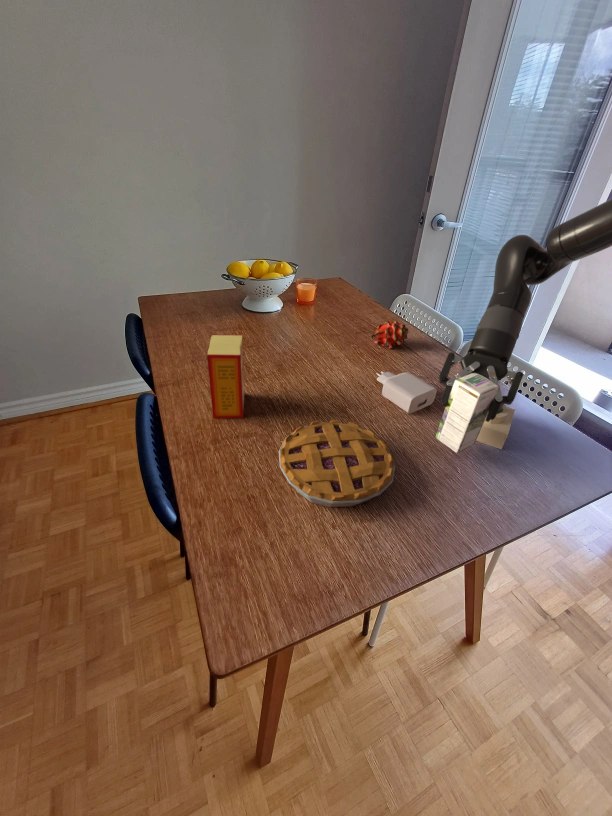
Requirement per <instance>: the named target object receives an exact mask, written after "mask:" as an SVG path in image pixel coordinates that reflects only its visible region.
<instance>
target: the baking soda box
mask: <svg viewBox="0 0 612 816" xmlns="http://www.w3.org/2000/svg"><path fill="white" fill-rule="evenodd" d="M243 342H244V341H243V334H211V337H210V341H209V345H208V350H207V354H206V359H207V369H208V378H209V379H208V381H209V388H210V399H211V408H212V409H211V410H212V418H213V419H243V418H244V407H245V371H244V370H245V369H244V368H245V367H244V344H243Z"/></svg>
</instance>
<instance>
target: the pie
mask: <svg viewBox="0 0 612 816" xmlns="http://www.w3.org/2000/svg"><path fill="white" fill-rule="evenodd" d="M278 458H279V460H278V461H279V468H280V470H281V472H282V473H283V475H284V477H285V478H286V480H287V482H288V484H289V485H290V486H292V487H293V488H294V489H295V491H296V492H297V493H298V494H300V495H301V496H302V497H303V498H305V499H306V500H307V501H309V502H310V503H311V504H315V505H319V506H324V507H328V508H343V507H345V508H347V507H354V506H357V505H359V504H362V503H364V502H367V501H371V500H372V499H374V498H375V497H377V496H380V495H381V494H382V493H383V492H384V491H385V490H387V488H388V487H389V486H390V485H392V484H393V483H394V477H395V471H396V470H395V468H396V465H395V462H394V459H393V454H391V453H390V450H389V448H388V445H387V444H386V443H385V442H384V440H380V439H379V438H378V437H377V436H376V434H375V432H373V431H372V430H371V429H369V428H368V429H364V428H362V427H361V426H359V425H358V423H356V422H353V421H349V422H347V423H343V422H341V421H340V420H339V419H330V421H329V422H322V421H319V420H318V421H317V420H316V421H312V422H311V423H310V424H309V425H306V426H302V425H300V426H298V427H297V428H296V429H295V430H294V431H293V432H291V433H290V434H287V436H286V437H285V438H284V440H283V442H282V444H281V446H280V448H279V449H278Z"/></svg>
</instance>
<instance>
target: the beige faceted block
mask: <svg viewBox="0 0 612 816" xmlns="http://www.w3.org/2000/svg"><path fill="white" fill-rule="evenodd" d="M515 413H516V409H515V408H514V407H513V408H512V407H510V406H506V404H504V405H503V408H502V410H501V412H500V413H499V414H497V415H496V417H495V419H494V420H491V419H490V421H489V422H487V421H484V423H483V426H482V428H481V430H480V433H479V435H478V437H477V440H476V442H479V443H481V444H484V445H487V446H490V447H492V448H496V449H498V450H502V449H503V448H504V445H505V444H506V441H507V438H508V436H509V433H510V430H511V426H512V422H513V419H514V416H515ZM487 415H488V414H487ZM485 420H486V419H485Z"/></svg>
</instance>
